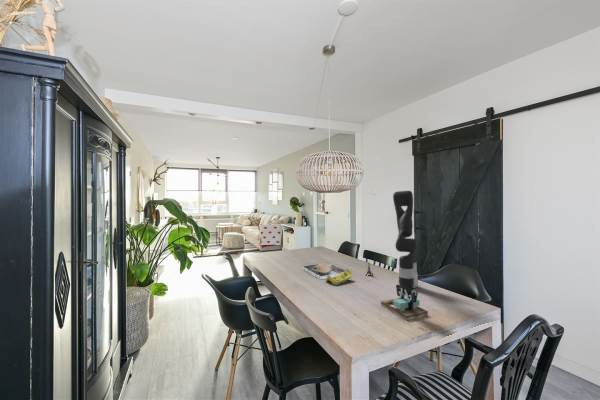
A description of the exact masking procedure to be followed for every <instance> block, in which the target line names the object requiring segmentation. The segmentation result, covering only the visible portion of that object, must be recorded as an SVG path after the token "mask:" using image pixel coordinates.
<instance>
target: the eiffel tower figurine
mask: <svg viewBox="0 0 600 400" xmlns="http://www.w3.org/2000/svg"><path fill="white" fill-rule="evenodd" d="M366 273H367V274H369V275H368V276H367V274H365V277H370V276H371V277H372V278H373V276H374V275H373V274H374V273H373V272H372V271H371V265H370V263H368V268H367V271H366ZM371 274H372V275H371ZM371 277H370V278H371Z"/></svg>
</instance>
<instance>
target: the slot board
mask: <svg viewBox="0 0 600 400" xmlns="http://www.w3.org/2000/svg"><path fill="white" fill-rule="evenodd" d="M398 299H400V297H399V298H393V299H388V300H382V301H380V306H381V307H383V308H384V309H386V310H388V311H390V312H391V313H393V314H395V315H397V316H398V317H400V318H401V319H403V320H405V321H410V320H416V319H419V318H424V317H428V316H429V315H428V310H426V309H424V308H422V307H420V306H417V308H416V309H412V310H409V308H405V311H400V310H398V309H396V307H395V306H393V300H398Z"/></svg>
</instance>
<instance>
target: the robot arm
mask: <svg viewBox="0 0 600 400" xmlns="http://www.w3.org/2000/svg"><path fill="white" fill-rule="evenodd" d="M392 200H393V204H394V205H393V206H394V211H395V216H396V223H397V224H396V225H397V230H398V235H397V238H396V241H395V250H397V252H400V253H401V252H402V253H408V254H407V255H401V256H399V258H398V260H399V261H398V262H399V263H398V264H399V267H398V284H396V285H395V289H396V295H397V297H399V298H400V299H403V298H408V301H409V302H408V307H409V310H412V309H413V303H414V302H416V301H417V299H418V294H419V292H418V291H415V290H414V289H416V288H418V287H419V276H418V275H419V273H418V271H417V268H418V266H417V262H418V261H417V248H418V243H417V239H416V238H410V237H412V235H413V227H414V226H413V212H414V209H413V208H414V194H413V192H412V191H411V190H400V191H399V190H398V191H395V192H393V195H392ZM402 207H406V210H404V209H403V208H402ZM410 298H411V300H410Z"/></svg>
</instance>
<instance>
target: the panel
mask: <svg viewBox="0 0 600 400" xmlns="http://www.w3.org/2000/svg"><path fill="white" fill-rule="evenodd" d="M410 300H411V298H410ZM408 302H409V301H408V298H407V297H404V298H403V299H398V300H393V306H395V307H396V309H398V310H400V311H405V308H409V307H408ZM417 306H418V307H420V299H418V298H417V301H416V302H414V303H413V309H416V308H417Z"/></svg>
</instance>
